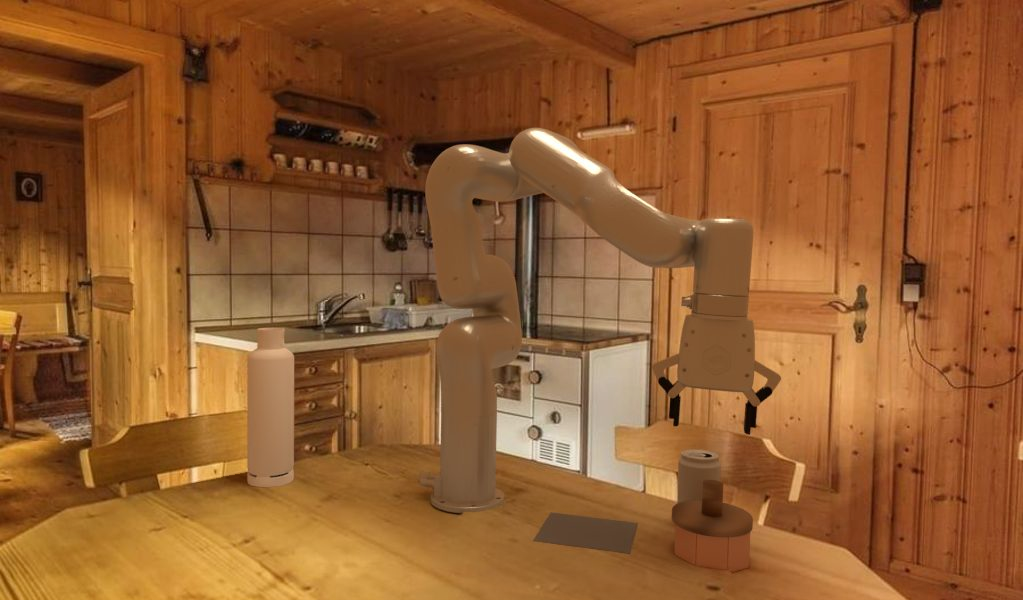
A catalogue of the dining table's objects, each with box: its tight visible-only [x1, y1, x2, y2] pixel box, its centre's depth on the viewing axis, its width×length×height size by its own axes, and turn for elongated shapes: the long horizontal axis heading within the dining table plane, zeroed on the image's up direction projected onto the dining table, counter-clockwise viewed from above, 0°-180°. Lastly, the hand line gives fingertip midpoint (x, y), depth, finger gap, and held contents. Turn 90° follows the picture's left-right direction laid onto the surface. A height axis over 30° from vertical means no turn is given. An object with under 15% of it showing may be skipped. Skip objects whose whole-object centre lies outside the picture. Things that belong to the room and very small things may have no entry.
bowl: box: [673, 523, 751, 573], centre depth 98 cm, size 10×10×5 cm
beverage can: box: [676, 449, 722, 504], centre depth 108 cm, size 6×6×12 cm
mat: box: [532, 512, 639, 555], centre depth 105 cm, size 14×12×1 cm
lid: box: [671, 480, 754, 537], centre depth 98 cm, size 11×11×6 cm
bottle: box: [246, 327, 295, 488], centre depth 127 cm, size 8×8×28 cm
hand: (710, 428), depth 98 cm, fingers open, 9 cm apart
